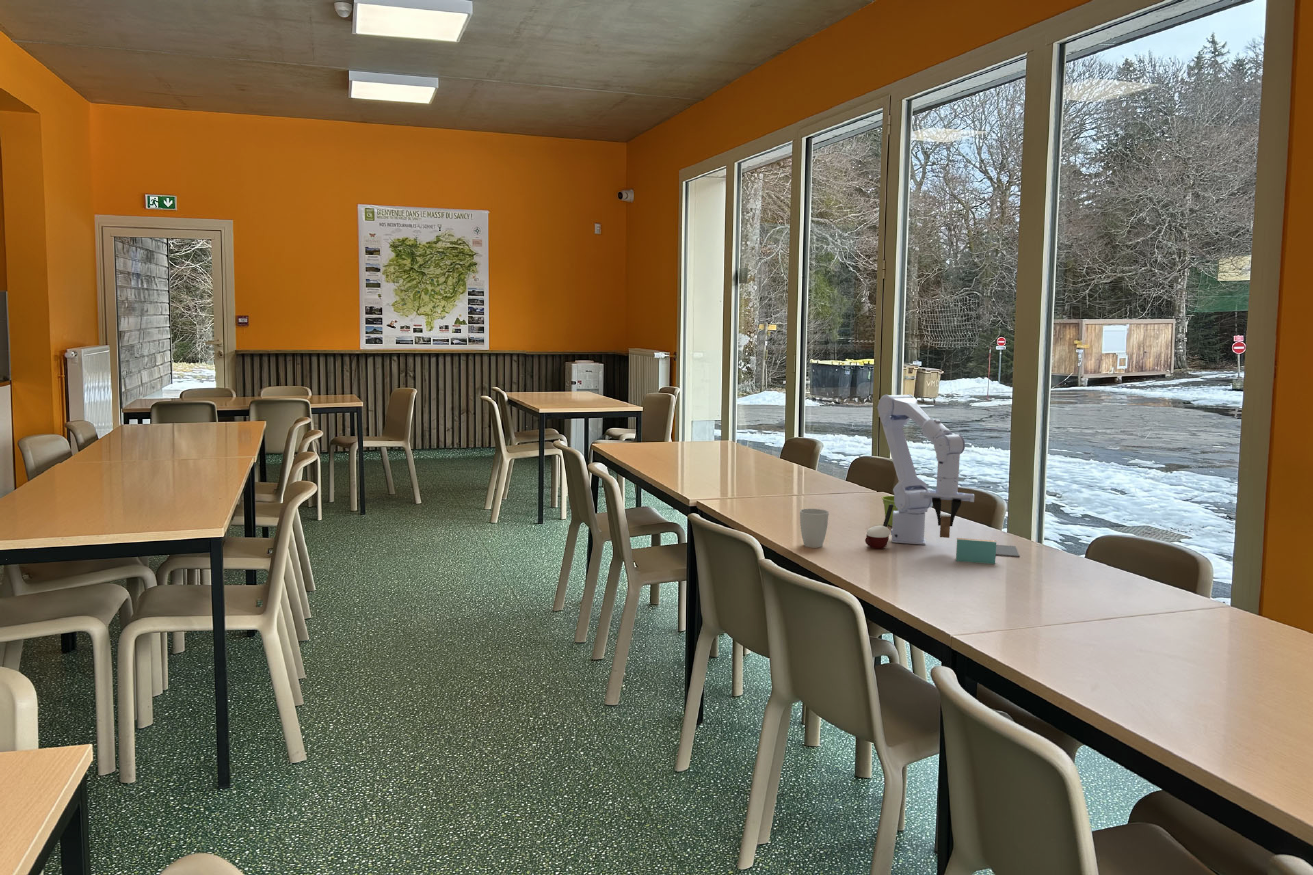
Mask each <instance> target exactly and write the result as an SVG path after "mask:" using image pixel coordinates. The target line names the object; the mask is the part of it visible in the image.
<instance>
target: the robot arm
mask: <svg viewBox="0 0 1313 875" xmlns="http://www.w3.org/2000/svg"><path fill="white" fill-rule="evenodd" d="M876 408H877V411H878V415H879V418H880V422H881V424H882V428H883V433H884V437H885V439H886V441H887V445H888V449H889V453H890V455H891V460H892V463H893V466H894V470H895V474H896V476H897V479H898V482H897V483H896V484H895V486H894V487H893V489H892V491H893V494H894V495H893V496H894V503H895V506H896V507H897V509H898V511H893V522H892V526H891V529H890V536H891V543H897V544H899V543H900V544H909V545H910V544H912V545H926V537H925V528H926V527H925V526H926V523H925V522H926V513H928V510H929V509H931V507H932V505H933V508H934V510H935V513H936V514H935V515H936V518H937V526H938V527H939V526H941V513H942V500H943V501H944V500H945V501H951V503H950V527H953V524H954V520H955V517H956V514H957V513H958V511H959V509H960V507H961V505H962V502H970V503H974V502H975V494H974V493H966V492H958V490H959V477H960V476H959V474H960V472H959V471H960V457H961V454H963V452H964V451H965V449H966V442H965V439H964V437H963V436H962V435H961V433H954V432H951V429H949V428H947V427H946V426H945V425H944V424H943V423H942V420H940V419H939V418H930V416H929V415H928V414H927V413H926V412H925V411H924V410H923V409H922V408H921V407H920V405H919V402H918V399H917V398H915V396H914V395H912V394H910V393H907V394H891V395H889V394H883V395H882V396H881V397H880V399H879V401H878V404H877V406H876ZM910 420H911V421H913V422H914V423H915V424H917V425H918V426H919V427H921V433H922V435H923V436H924V437H926V438H927V440H929V441H930V442H931V443H932V444H933V449H934V451H935V455H936V456H935V459H936V461H937V469H936V470H937V471H936V487H935V488H936V490H930V489H928V486H927V482H925V481H923V480H922V479H920V478H919V477H918V476H917V472H916V469H915V465H914V463H913V459H912V457H911V452H910V450H909V446H908V443H907V439H906V436H905V432H904V430H903V429H904V426H905V425H907V424H908V423H909V421H910Z"/></svg>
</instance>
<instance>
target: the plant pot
mask: <svg viewBox="0 0 1313 875" xmlns="http://www.w3.org/2000/svg"><path fill="white" fill-rule="evenodd" d="M881 499H882V502H883V507H884V510H883V511H884V518H885V517H886V514H887V510H888V507H889V504H893V509H892V512H891V515H890V519H889V522H888V525H887V526H891V527H892V522H893V511H898V509H897V507H896V506H895V503H894V495H886V496H885V495H884V496H882V497H881Z"/></svg>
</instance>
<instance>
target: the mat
mask: <svg viewBox="0 0 1313 875" xmlns="http://www.w3.org/2000/svg"><path fill="white" fill-rule="evenodd" d="M996 556H999V557H1001V556H1002V557H1012V558H1013V557H1014V558H1020V554H1019V551H1018V549H1017V547H1016V545H1004V544H1003V545H1002V544H996Z"/></svg>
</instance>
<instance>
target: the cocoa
mask: <svg viewBox="0 0 1313 875" xmlns="http://www.w3.org/2000/svg"><path fill="white" fill-rule="evenodd" d="M892 509H893V504H889V507H888V510H887V514H886V517H885V516H884V521H883V524H882V525H874V526H872V527H870V528H868V529H867V530H866V537H865V538H864V542H865V544H866V545H867V546H868V547H870V548H871V549H874V550H875V549H876V550H882V549H884V548H886V547H887V546H888V543H889V537H890V535H891V530H890V529H889V527H888V526H889V525H888V522H889V519H890V515H891V512H892Z"/></svg>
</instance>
